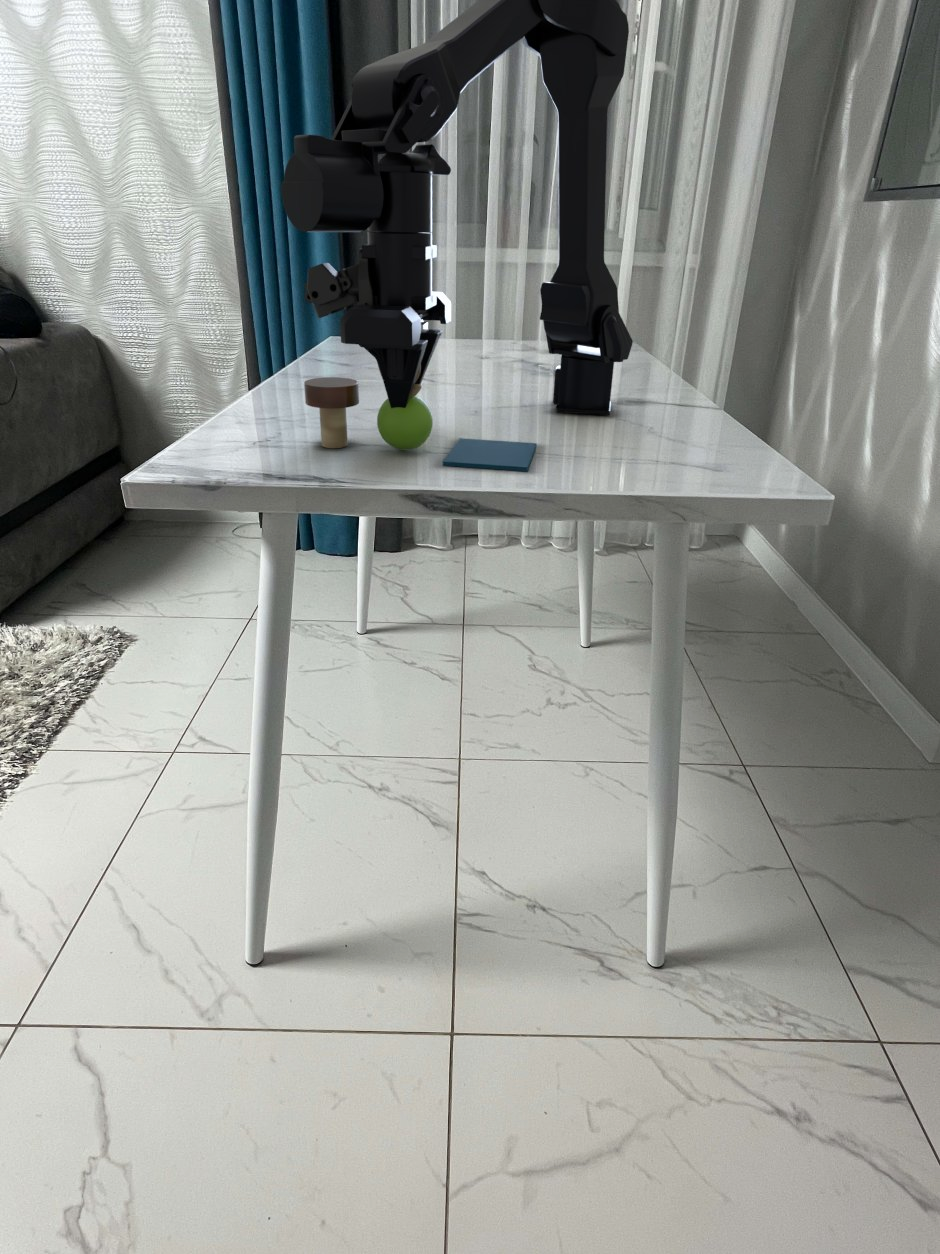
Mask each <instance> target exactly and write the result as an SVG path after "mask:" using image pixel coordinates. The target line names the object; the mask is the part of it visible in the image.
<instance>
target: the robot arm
mask: <svg viewBox="0 0 940 1254" xmlns="http://www.w3.org/2000/svg"><path fill="white" fill-rule="evenodd" d="M629 26H630V25H629V20H628V16H627V14H626V12H624V11H623V10H622V8H621V5H620V4H619V2H618V1H617V0H477V1H476V2H475V3H473V4H472V5H470V6H469V7H468V8H467V9H465V10H464V11H463V12H462V13H461V14H459V15H458V16H457V17H455V18H454V19H453V20H452V21H450V22H449V23H448V24H447V25H445V26H444V27H443V28H441V30H439V31H438V32H436V33H435V34H434V35H433V36H432V37H430V38H429V39H428V40H426V41H425V42H424V43H422V44H419V45H417V46H414V47H412V48H409V49H405V50H403V51H399V52H397V53H394V54H390V55H387V56H385V57H384V58H383V57H382V58H381V59H379V60H376V61H374V62H372V63H370V64H368V65H365V66H363V67H362V68H360V70H359V71H357V73H356V74H355V76H354V77H353V79H352V82H351V89H352V91H351V98H350V99H349V102H348V104H347V106H346V109H345V110H344V112H343V114H342V117H341V118H340V120H339V122H338V124H337V126H336V128H335V131H334V132H333V134H332V136H331V138H328V137H325V136H323V135H319V134H318V135H317V134H299V135H295V136H294V137H293V149H294V153H293V154H292V155H291V156H290V158H289V159H288V162H287V163H286V165H285V170H284V174H283V181H282V182H281V185H280V188H281V189H280V190H281V191H280V192H281V198H282V204H283V207H284V212H285V214H286V216H287V218H288V220H289V222H290V224H292V226H293V227H294V228H295V229H296V230H298V231H300V232H301V233H362V232H364V231H367V243H365V244H361V248H359V249H358V263H357V264H355V265H350V266H349V267H346V268H341V269H339V270H338V271H337V270H336V269H335V268H334V267H333V266H332V265H331V264H330V263H329V262H324V263H323V262H322V263H319V264H317V265H314V266H312V267H309V268H307V280H306V282H305V283H303V287H304V289H305V293H304V297H303V298H304V300H305V302H307V303H309V304H312V306H313V309H314V312H315V314H316V316H317V318H318V319H322V318H324V317H327V316H331V315H333V314H336V313H338V312H341V311H344V310H345V309H346V307H348V306H351V305H354V304H356V303H358V305H356V306H353V307H350V308H349V309H348V310H347V311H346V312H345V313H344V314H343V316H341V318H340V319H339V328H340V343H342V344H344V345H345V344H346V345H358V346H359V347H360V348H364V349H365V350H366V352H368V353H369V354H370V355H371V356H372V357H373V358H374V359H375V360H376V363H378V364H377V367H378V366H379V367H378V370H379V369H380V371H379V373H380V372H381V374H380V376H381V375H382V376H381V379H382V382H383V385H384V389H385V392H386V396H387V399H389V403H390V406H391V408H396V407H401V408H406V406H407V404H408V401H409V398H410V395H411V392H412V389H413V386H414V383H415V384H420V385H421V386H422V383H423V380H424V378H425V375H426V372H427V370H428V367H429V365H430V362H431V359H432V357H433V356H434V355H433V354H434V352H435V350H436V348H437V345H438V343H439V340H440V338H441V336H442V334H443V330H442V329H436V328H435V329H433V328H429V322H428V321H437V322H439V323H440V325H447V324H450V323H451V322H452V301H451V300H450V298H448V297H447V296H446V294H445V293H444V292H443V291H433V259H435V258H437V256H438V255H437V252H438V249H437V248H438V246H437V244H433V176H449V175H450V174H451V173H452V167H451V166H450V165H449V163H448V162H447V160H445V158H444V157H442V156H441V154H440V153H439V151H438V150H437V147H436V146H435V144H433V143H426V142H429V141H431V140H433V139H435V137H436V136H438V135H439V133H440V132H441V131H442V129H443V128H444V127H445V125H446V124H447V123H448V122H449V120H450V119H451V118H452V116H453V115H454V114H455V112H457V109H458V107H459V101H460V97H461V93H462V92H463V91H464V90H465V89H466V87H467V86H468V85H469V84H470V83H471V82H472V81H474V80H475V79H476V78H477V77H478V76H480V75H481V74H482V73H483V72H484V71H485V70H486V69H488V68H489V67H490V66H491V65H492V64H494V63H495V62H496V61H497V60H498V59H499V58H501V57H502V56H503V55H504V54H505V53H507V52H508V51H509V50H510V49H511V48H513V47H514V46H515V45H517V43H519V42H520V41H521V43H522V45H523V46H524V47H525V48H526V49H528V50H530V51H531V52H533V53H534V54H535V55H537V56H538V57H539V58H540V65H541V67H540V68H541V74H542V82H543V84H544V87H545V88H546V91H547V92H548V94H549V96H550V99H551V100H552V102H553V104H554V107H555V108H556V110H557V119H558V121H557V122H558V123H557V126H558V127H557V129H558V130H557V132H558V133H557V134H558V135H557V137H558V138H557V139H558V145H557V147H558V148H557V149H558V265H557V267H556V269H555V271H554V273H553V274H552V276H551V278H550V281H543V282H542V283H541V286H540V289H539V292H540V300H541V301H540V302H541V309H540V315H539V320H540V321H542V322H543V329H544V332H545V338H546V343H547V349H548V353H549V354H550V355H560V365H557V366H556V367H555V369H554V381H553V394H552V395H553V397H552V398H553V399H552V403H553V405H556V406H555V412H557V413H570V414H571V413H572V414H587V415H605V416H609V415H611V409H612V408H611V407H612V401H611V397H612V389H613V388H612V386H613V378H614V369H615V368H614V367H615V363H623V362H624V361H626V360H628V359H629V357H630V353H631V350H632V346H633V344H634V343H633V342H634V341H633V338H632V336H631V335H630V332H629V331H628V328H627V326H626V324H625V322H624V320H623V317H622V316H621V314H620V308H619V293H618V287H617V284H616V282H615V280H614V278H613V277H612V274H611V272H610V270H609V268H608V266H607V264H606V262H605V235H606V234H605V229H606V190H607V189H606V188H607V187H606V186H607V182H606V181H607V145H608V144H607V141H608V139H607V138H608V110H609V109H608V108H609V105H610V104H611V102H612V100H613V98H614V95H615V94H616V91H617V90H618V87H619V85H620V84H621V81H622V79H623V78H624V75H625V67H626V60H627V50H628V41H629V36H630V35H629V34H630V29H629V28H630V27H629ZM417 143H421V144H417ZM422 143H424V144H422ZM414 146H415V147H414ZM413 147H414V148H413ZM412 148H413V149H412ZM410 149H412V151H411V152H409V151H410ZM379 155H383V156H382V157H381V158H380V159H379ZM420 364H421V371H420V375H419V377H418V379H417V381H416V382H415V380H416V376H417V373H418V370H419V367H420Z"/></svg>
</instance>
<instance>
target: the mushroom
mask: <svg viewBox="0 0 940 1254" xmlns="http://www.w3.org/2000/svg"><path fill="white" fill-rule="evenodd" d="M303 385H304V400H305V404H306V405H307V406H308V407H312V408H316V409H319V425H320V426H319V427H320V440H321V442H320V443H321V446H322V447H323V448H326V449H342V448H346V447H347V446H348V444H349V443H348V423H347V422H348V421H347V409H348V408H352V407H355V406H358V405H359V403H360V390H359V381H358V380H357V379H353V378H348V377H337V376H329V377H328V376H326V377H325V376H324V377H313V378H310V379H309V378H308V379H307V380H305V381H304V382H303Z"/></svg>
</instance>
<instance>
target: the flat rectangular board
mask: <svg viewBox="0 0 940 1254" xmlns="http://www.w3.org/2000/svg"><path fill="white" fill-rule="evenodd" d="M537 446H538V443H536V442H523V441H509V440H507V441H505V440H491V439H478V438H477V439H476V438H462V437H460V438H459V439H458V440H457V441H456V442H455V444H454V446H453V447H452V448H451V450H450V451H449V453H448V454H447V455H446V456H445V458H444V459H443V461H442V466H446V467H461V468H473V469H485V470H499V471H501V470H502V471H514V472H528V471H529V468H530V466H531V463H532V460H533V458H534V455H535V452H536V449H537Z"/></svg>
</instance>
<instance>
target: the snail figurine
mask: <svg viewBox="0 0 940 1254" xmlns="http://www.w3.org/2000/svg"><path fill="white" fill-rule="evenodd" d="M376 363H377V362H376ZM377 368H378V370H379V374H380V376H381V377H382V375H381V372H380V369H379V366H378V363H377ZM420 371H421V364H420V367H419V370H418V373H417V376H416V380H415V382H416V381H417V379H418V377H419V375H420ZM421 389H422V384H421V385H420V384H415V383H414V386H413V389H412V392H411V395H410V398H409V401H408V404H407V406H406V408H401V407H396V408H391V406H390V403H389V399H388V398H387V399H386V400H384V402H383V403H382V404H381V406H380V407H379V409H378V412H377V418H376V426H377V429H378V432H379V434H380V436H381V438H382V440H383V441H384V442H385V443H386V444H388V445H389V446H390V447H392V448H395V449H396V450H401V451H410V450H414V449H417V448H418V447H420V446H422V445H423V444H424V443H425V442H426V441H427V440H428V438H429V437H430V435H431V433H432V431H433V425H434V424H433V423H434V422H433V420H434V419H433V414H432V411H431V409H430V407H429V406H428V404H427V403H426V401H425V400H424V399H423V398H421V397H419V396H418V394H419V393H420V392H421Z"/></svg>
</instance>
